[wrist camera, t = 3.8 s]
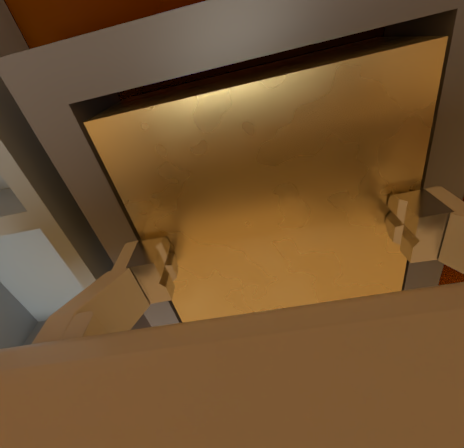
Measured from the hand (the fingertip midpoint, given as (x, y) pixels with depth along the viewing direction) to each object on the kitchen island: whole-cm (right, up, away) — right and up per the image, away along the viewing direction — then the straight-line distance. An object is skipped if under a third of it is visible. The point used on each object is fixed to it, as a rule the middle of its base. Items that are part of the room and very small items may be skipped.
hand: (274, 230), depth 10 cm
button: (0, +2, +3) cm, 4 cm away
